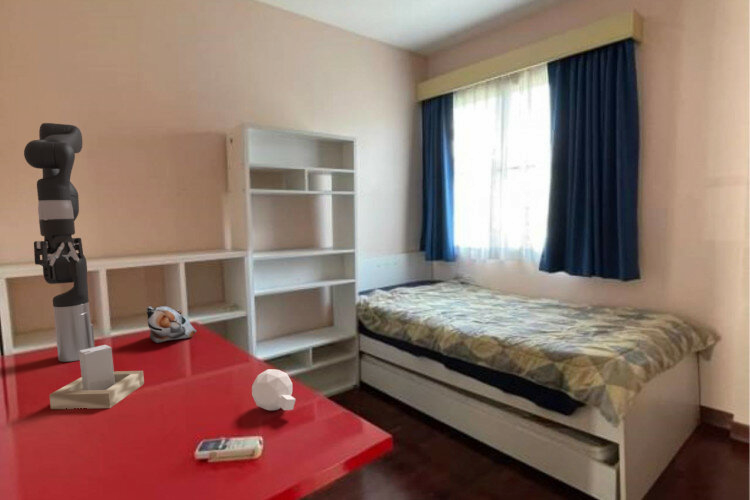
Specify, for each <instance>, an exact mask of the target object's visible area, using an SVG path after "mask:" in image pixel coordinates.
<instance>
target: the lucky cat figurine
mask: <svg viewBox="0 0 750 500" xmlns="http://www.w3.org/2000/svg"><path fill="white" fill-rule="evenodd" d="M146 315H147V324H148V325H147V326H148V329H150V332H149V338H150V340H151V341H152V342H154V343H157V344H160V343H163V342H167V341H173V340H183V339H192V338H193V337H194V335H195V334H196V333H197V329H196V328H195V327H194V326H193V325H192V324H191V322H190V320H189V319H188V318H187V317H186V316H183V315H182V310H181V309H179V308H178V309H176V310H175V309H174V308H171V307H170V306H167V305H165V306H163V305H161V306H158V307H156V308H154V307H153V306H151V305H150V306H147V307H146Z"/></svg>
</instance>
